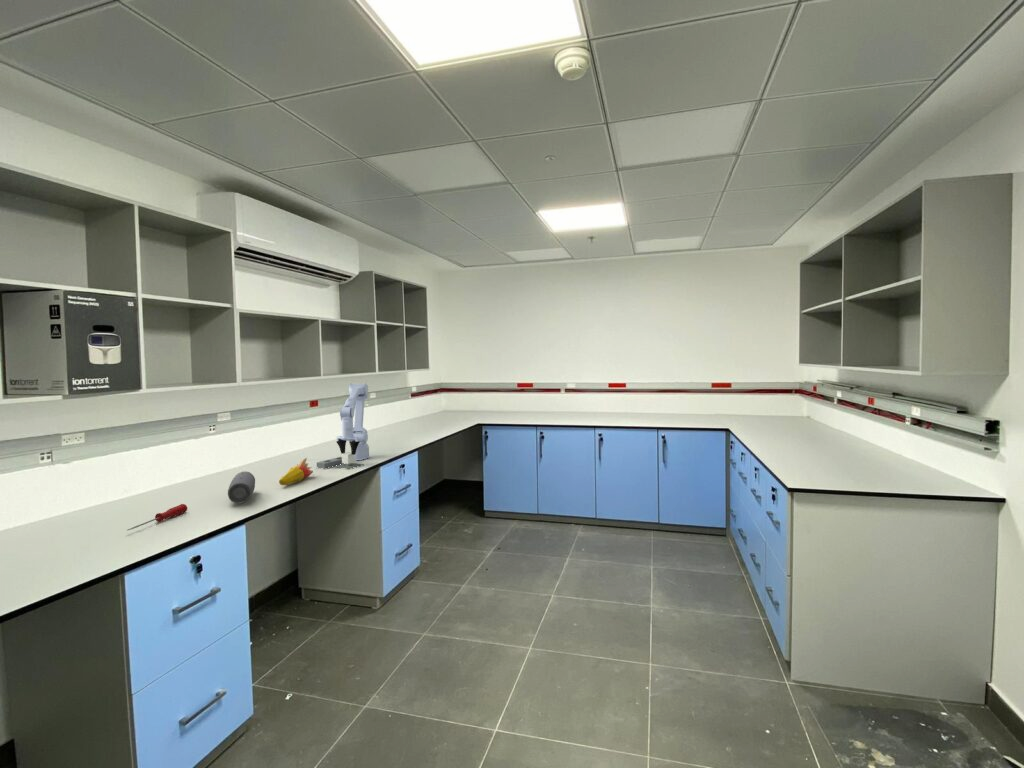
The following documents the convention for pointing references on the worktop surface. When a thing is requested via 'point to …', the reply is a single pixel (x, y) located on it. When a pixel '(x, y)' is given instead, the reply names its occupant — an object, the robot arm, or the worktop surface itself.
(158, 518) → the screwdriver
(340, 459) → the power strip
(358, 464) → the mat
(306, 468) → the torch
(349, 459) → the block
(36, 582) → the worktop surface
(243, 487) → the bluetooth speaker
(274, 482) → the worktop surface
